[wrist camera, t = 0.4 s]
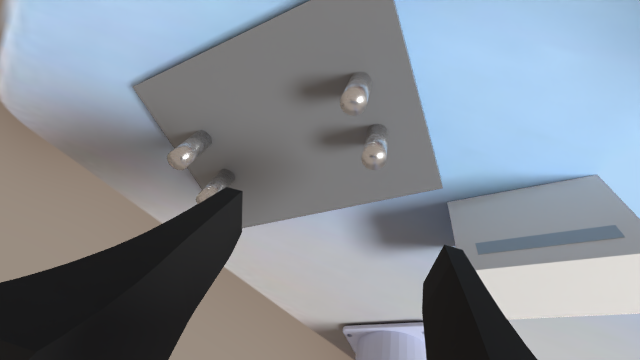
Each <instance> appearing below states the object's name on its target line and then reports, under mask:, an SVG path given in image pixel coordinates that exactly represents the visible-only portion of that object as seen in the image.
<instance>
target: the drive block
mask: <svg viewBox="0 0 640 360" xmlns="http://www.w3.org/2000/svg"><path fill="white" fill-rule="evenodd" d="M447 204H448V209H449V214H450V219H451V225H452V230H453V235H454V240H455V245H456V248H458V249H462V250H463V251H464V253H465V254H466V256H467V258H468V259H469V261H470V262H471V264H472V266H473V267H474V269H475V271H476V272H477V274H478V275H479V277H480V279H481V280H482V282H483V283H484V285H485V287H486V288H487V290H488V291H489V293H490V294H491V296H492V298H493V299H494V301H495V302H496V304H497V305H498V307H499V308H500V310H501V311H502V313H503V314H504V315H505V317H506V318H507V320H508V319H530V318H553V317H575V316H597V315H619V314H640V219H639V218H638V217H637V216H636V215H635V214H634V212H633V211H632V210H631V209H630V208H629V207H628V206H627V205H626V204H625V203H624V202H623V201H622V200H621V199H620V198H619V197H618V196H617V195H616V194H615V193H614V192H613V191H612V190H611V189H610V187H609V186H608V185H607V184H606V183H605V182H604V181H603V180H602V179H601V178H600V177H599V176H598V175H592V176H587V177H581V178H576V179H570V180H565V181H560V182H554V183H549V184H543V185H538V186H532V187H527V188H521V189H516V190H510V191H505V192H499V193H494V194H488V195H483V196H477V197H472V198H467V199H461V200H456V201H450V202H447Z"/></svg>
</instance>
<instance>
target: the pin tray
mask: <svg viewBox="0 0 640 360" xmlns="http://www.w3.org/2000/svg"><path fill="white" fill-rule="evenodd" d="M133 88H134V90H135V91H136V93H137V94H138V96H139V97H140V99H141V100H142V102H143V103H144V104H145V106H146V107H147V109H148V110H149V112H150V113H151V115H152V116H153V118H154V119H155V121H156V122H157V124H158V125H159V127H160V128H161V130H162V131H163V132H164V134H165V135H166V137H167V138H168V140H169V141H170V143H171V144H172V146H173V147H174V150H173V151H171V152H170V153H169V154H168V156H167V160H168V162H169V164H170V165H171V166H172V167H173V168H175V169H177V170H184V169H185V168H186V167H187V168H188V169H189V171H190V172H191V174H192V175H193V177H194V178H195V180H196V181H197V183H198V184H199V185H200V187H201V188H202V191H201V192H200V193H199V194H198V196H197V197H196V202H197V204H199V203H200V202H202V201H204V200H205V199H207V198H209V197H210V196H212V195H214V194H215V193H217V192H219V191H221V190H222V189H224V188H226V187H229V188H233V189H237V190H240V191H243V199H242V228H246V227H251V226H256V225H261V224H266V223H271V222H276V221H281V220H286V219H291V218H296V217H301V216H306V215H311V214H316V213H321V212H326V211H331V210H336V209H341V208H346V207H351V206H356V205H361V204H366V203H371V202H376V201H381V200H386V199H391V198H396V197H401V196H406V195H411V194H416V193H421V192H426V191H431V190H436V189H441V188H443V187H442V182H441V177H440V173H439V169H438V165H437V162H436V158H435V154H434V150H433V146H432V143H431V139H430V135H429V131H428V127H427V124H426V120H425V116H424V112H423V108H422V105H421V101H420V97H419V93H418V89H417V85H416V82H415V78H414V74H413V70H412V66H411V63H410V59H409V55H408V51H407V47H406V44H405V40H404V36H403V32H402V28H401V25H400V21H399V17H398V13H397V9H396V6H395V2H394V0H310V1H308V2H306V3H304V4H302V5H299V6H297V7H295V8H293V9H291V10H289V11H287V12H285V13H283V14H281V15H279V16H277V17H275V18H273V19H271V20H269V21H267V22H265V23H263V24H261V25H259V26H256V27H254V28H252V29H250V30H248V31H246V32H244V33H242V34H240V35H238V36H236V37H234V38H232V39H230V40H228V41H226V42H224V43H222V44H220V45H218V46H215V47H213V48H211V49H209V50H207V51H205V52H203V53H201V54H199V55H197V56H195V57H193V58H191V59H189V60H187V61H185V62H183V63H181V64H179V65H177V66H175V67H172V68H170V69H168V70H166V71H164V72H162V73H160V74H158V75H156V76H154V77H152V78H150V79H148V80H146V81H144V82H142V83H140V84H138V85H136V86H134V87H133Z"/></svg>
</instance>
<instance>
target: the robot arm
mask: <svg viewBox="0 0 640 360" xmlns="http://www.w3.org/2000/svg"><path fill="white" fill-rule="evenodd" d="M242 199H243V191H240V190H237V189H233V188H229V187H226V188H224V189H222V190H221V191H219V192H217V193H215V194H214V195H212V196H210V197H209V198H207V199H205V200H204V201H202V202H200V203H199V204H197V205H195V206H194V207H192V208H190V209H188V210H187V211H185V212H183V213H181V214H180V215H178V216H176V217H174V218H173V219H171V220H169V221H167V222H165V223H163V224H161V225H159V226H157V227H156V228H153V229H152V230H150V231H148V232H146V233H144V234H141V235H139V236H137V237H135V238H133V239H130V240H128V241H126V242H123V243H121V244H119V245H116V246H114V247H111V248H109V249H106V250H104V251H101V252H98V253H95V254H93V255H90V256H87V257H85V258H82V259H79V260H76V261H73V262H70V263H68V264H64V265H61V266H58V267H55V268H52V269H49V270H45V271H42V272H38V273H35V274H32V275H28V276H24V277H21V278H17V279H13V280H10V281H5V282H1V283H0V360H168V359H169V357H170V355H171V353H172V351H173V349H174V347H175V346H176V344H177V342H178V340H179V338H180V336H181V334H182V332H183V330H184V329H185V327H186V325H187V322H188V321H189V319H190V318H191V316H192V314H193V313H194V311H195V309H196V308H197V306H198V305H199V303H200V302H201V300H202V299H203V297H204V296H205V294H206V292H207V291H208V289H209V288H210V286H211V285H212V283H213V282H214V280H215V279H216V277H217V276H218V274H219V273H220V271H221V269H222V268H223V267H224V265H225V264H226V262H227V260H228V259H229V257H230V256H231V254H232V252H233V250H234V248H235V246H236V244H237V241H238V239H239V237H240V235H241V233H242ZM422 314H423V322H417V323H396V324H375V325H354V326H344V327H343V333H344V335H345V337H346V338H347V340H348V342H349V344H350V345H351V347H352V349H353V351H354V352H355V354H356V357H355V360H537V359H536V357H535V356H534V355H533V354H532V352H531V351H530V350H529V348H528V347H527V346H526V345H525V343H524V342H523V341H522V339H521V338H520V336H519V335H518V334H517V332H516V331H515V330H514V328H513V327H512V325H511V324H510V323H509V321H508V320H507V318H506V317H505V315H504V314H503V313H502V311H501V310H500V308H499V307H498V305H497V304H496V302H495V301H494V299H493V298H492V296H491V294H490V293H489V291H488V290H487V288H486V287H485V285H484V283H483V282H482V280H481V279H480V277H479V275H478V274H477V272H476V271H475V269H474V267H473V266H472V264H471V262H470V261H469V259H468V258H467V256H466V254H465V253H464V251H463V250H462V249H458V248H454V247H451V246H447V245H444V246H443V248H442V250H441V252H440V253H439V255H438V257H437V259H436V261H435V263H434V264H433V266H432V268H431V270H430V272H429V274H428V276H427V277H426V279H425V281H424V283H423V305H422Z"/></svg>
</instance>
